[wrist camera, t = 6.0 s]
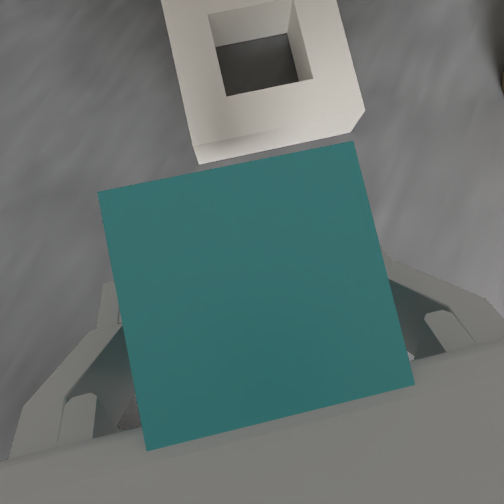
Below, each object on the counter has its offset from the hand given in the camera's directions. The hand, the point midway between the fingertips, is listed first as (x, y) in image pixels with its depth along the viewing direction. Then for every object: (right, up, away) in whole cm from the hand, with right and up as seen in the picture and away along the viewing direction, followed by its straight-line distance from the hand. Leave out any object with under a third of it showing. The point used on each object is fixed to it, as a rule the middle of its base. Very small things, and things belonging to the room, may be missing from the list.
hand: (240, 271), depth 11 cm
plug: (0, -1, +6) cm, 6 cm away
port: (+1, +13, +18) cm, 22 cm away
